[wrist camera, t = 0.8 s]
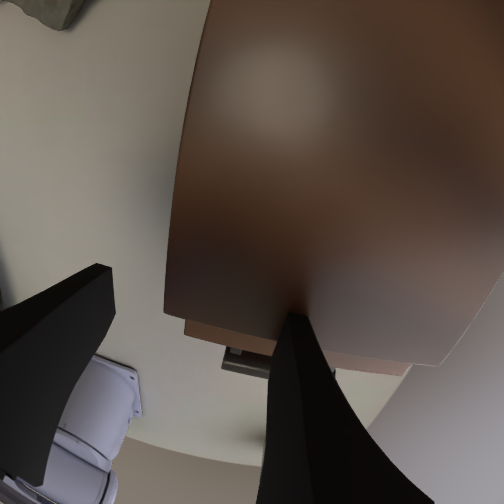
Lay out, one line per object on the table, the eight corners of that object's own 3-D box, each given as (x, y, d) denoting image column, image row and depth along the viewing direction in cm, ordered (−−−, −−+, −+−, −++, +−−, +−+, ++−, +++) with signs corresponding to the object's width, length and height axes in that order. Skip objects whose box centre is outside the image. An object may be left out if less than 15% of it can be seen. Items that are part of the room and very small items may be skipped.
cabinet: (387, 254, 18) (439, 367, 10) (217, 211, 18) (162, 313, 10) (455, 47, 11) (568, 37, 3) (270, -19, 11) (250, -116, 3)
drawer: (344, 335, 20) (357, 426, 14) (209, 305, 20) (178, 395, 14) (445, 84, 12) (536, 92, 5) (269, 22, 12) (253, -35, 5)
